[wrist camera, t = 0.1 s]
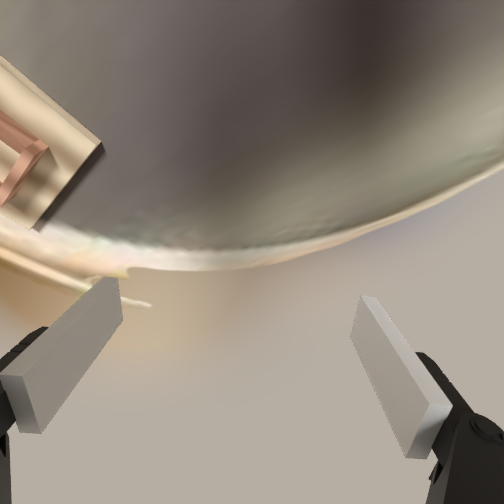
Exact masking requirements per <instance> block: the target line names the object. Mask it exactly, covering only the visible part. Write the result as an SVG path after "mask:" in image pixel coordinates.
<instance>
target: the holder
mask: <svg viewBox="0 0 504 504" xmlns="http://www.w3.org/2000/svg"><path fill="white" fill-rule="evenodd" d="M100 143H101V141H100V140H99V139H98V138H97V137H96V136H94V135H93V134H92V133H91V132H90V131H89V130H87V129H86V128H85V127H84V126H83V125H81V124H80V123H79V122H78V121H77V120H76V119H74V118H73V117H72V116H71V115H70V114H69V113H67V112H66V111H65V110H64V109H63V108H62V107H60V106H59V105H58V104H57V103H56V102H55V101H53V100H52V99H51V98H50V97H49V96H47V95H46V94H45V93H44V92H43V91H42V90H40V89H39V88H38V87H37V86H36V85H35V84H33V83H32V82H31V81H30V80H29V79H28V78H26V77H25V76H24V75H23V74H22V73H21V72H19V71H18V70H17V69H16V68H15V67H13V66H12V65H11V64H10V63H9V62H8V61H6V60H5V59H4V58H3V57H2V56H1V55H0V213H1V214H2V215H4V216H6V217H7V218H9V219H11V220H12V221H14V222H16V223H17V224H19V225H21V226H22V227H24V228H26V229H27V230H30V229H31V228H32V227H33V226H34V225H35V224H36V223H37V221H38V220H39V219H40V218H41V216H42V215H43V214H44V213H45V211H46V210H47V209H48V208H49V206H50V205H51V204H52V203H53V201H54V200H55V199H56V198H57V196H58V195H59V194H60V193H61V191H62V190H63V189H64V188H65V186H66V185H67V184H68V183H69V181H70V180H71V179H72V178H73V176H74V175H75V174H76V173H77V171H78V170H79V169H80V168H81V166H82V165H83V164H84V163H85V161H86V160H87V159H88V158H89V156H90V155H91V154H92V153H93V151H94V150H95V149H96V148H97V146H98V145H99V144H100Z"/></svg>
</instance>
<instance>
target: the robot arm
mask: <svg viewBox="0 0 504 504" xmlns="http://www.w3.org/2000/svg"><path fill="white" fill-rule="evenodd" d="M122 321H123V316H122V308H121V300H120V293H119V284H118V278H113V277H103V278H102V279H100V280H99V281H98V282H97V283H96V284H95V285H94V286H93V287H92V288H91V289H90V290H89V291H88V292H86V293H85V294H84V295H83V296H82V297H81V298H80V299H79V300H78V301H77V302H76V303H75V304H74V305H73V306H71V308H69V309H68V310H67V311H66V312H65V313H64V314H63V315H62V316H61V317H60V318H58V319H57V320H56V321H55V322H54V323H53V324H52V325H51V326H50V327H41V328H39V329H37V330H36V331H33V332H32V333H30V334H28V335H27V336H26V337H25V338H24V339H23V340H21V342H19V344H18V345H16V346H15V347H14V348H12V349H11V350H10V352H8V353H7V354H6V355H4V356H3V357H2V358H1V359H0V504H11V475H10V449H9V437H8V434H7V430H8V429H9V428H10V427H11V426H12V425H13V423H14V422H15V421H16V424H17V426H18V429H19V432H21V433H22V432H23V433H37V434H41V433H42V432H43V431H44V429H45V428H46V427H47V425H48V424H49V422H50V421H51V420H52V418H53V417H54V415H55V414H56V413H57V411H58V410H59V408H60V407H61V406H62V404H63V403H64V402H65V400H66V399H67V397H68V396H69V395H70V393H71V392H72V390H73V389H74V388H75V386H76V385H77V383H78V382H79V381H80V379H81V378H82V377H83V375H84V374H85V372H86V371H87V370H88V368H89V367H90V365H91V364H92V363H93V361H94V360H95V359H96V357H97V356H98V354H99V353H100V352H101V350H102V349H103V347H104V346H105V345H106V343H107V342H108V340H109V339H110V338H111V336H112V335H113V333H114V332H115V331H116V329H117V328H118V326H119V325H120V324H121V322H122ZM350 337H351V340H352V342H353V344H354V346H355V348H356V351H357V353H358V355H359V357H360V359H361V361H362V364H363V366H364V368H365V370H366V373H367V375H368V377H369V379H370V381H371V383H372V386H373V388H374V390H375V392H376V394H377V396H378V399H379V401H380V403H381V405H382V407H383V410H384V412H385V414H386V416H387V419H388V420H389V423H390V425H391V427H392V430H393V432H394V434H395V436H396V438H397V441H398V443H399V445H400V447H401V449H402V451H403V454H404V456H405V458H414V459H427V457H428V455H429V453H430V451H431V449H433V451H434V453H435V455H436V457H437V458H438V461H437V464H436V465H435V467H434V469H433V471H432V473H431V475H430V477H429V480H431V485H430V489H429V493H428V497H427V501H426V504H504V431H503V430H502V429H501V428H500V427H499V426H497V425H496V424H495V423H494V422H492V421H491V420H489V419H488V418H486V417H484V416H482V415H479V414H477V413H474V412H473V410H472V409H471V408H470V407H469V405H468V404H467V403H466V402H465V400H464V399H463V398H462V396H461V395H460V394H459V393H458V391H457V390H456V389H455V387H454V386H453V385H452V383H451V382H449V380H448V378H447V377H446V376H445V374H443V373H442V371H441V369H440V368H439V367H438V365H437V364H436V363H435V362H434V361H433V360H432V359H431V358H429V357H428V356H427V355H426V354H424V353H421V352H414V351H413V349H412V348H411V347H410V345H409V344H408V342H407V341H406V340H405V338H404V337H403V335H402V334H401V333H400V331H399V330H398V329H397V327H396V326H395V324H394V323H393V321H392V320H391V319H390V317H389V316H388V314H387V313H386V312H385V310H384V309H383V308H382V306H381V305H380V303H379V302H378V301H377V299H376V298H375V297H373V296H360V300H359V304H358V308H357V311H356V316H355V320H354V323H353V327H352V331H351V335H350Z"/></svg>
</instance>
